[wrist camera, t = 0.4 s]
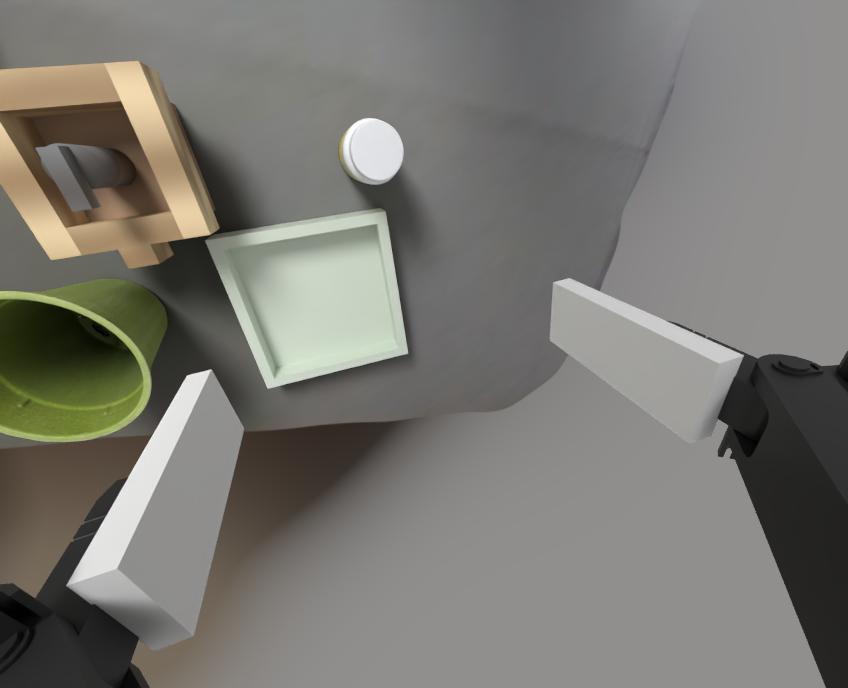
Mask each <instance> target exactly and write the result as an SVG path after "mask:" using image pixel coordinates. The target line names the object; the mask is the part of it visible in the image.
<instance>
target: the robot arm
mask: <svg viewBox="0 0 848 688" xmlns="http://www.w3.org/2000/svg"><path fill="white" fill-rule="evenodd" d="M550 341H551V342H553V343H554V344H555V345H557V346H558V347H559V348H561V349H562V350H563V351H565V352H566V353H568V354H569V355H570V356H572V357H573V358H575V359H576V360H577V361H578V362H580V363H581V364H582V365H584V366H585V367H587V368H588V369H589V370H591V371H592V372H593V373H595V374H596V375H597V376H599V377H600V378H601V379H603V380H604V381H605V382H607V383H608V384H610V385H611V386H612V387H614V388H615V389H616V390H618V391H619V392H620V393H622V394H623V395H625V396H626V397H627V398H629V399H630V400H631V401H633V402H634V403H635V404H637V405H638V406H640V407H641V408H642V409H644V410H645V411H646V412H648V413H649V414H650V415H652V416H653V417H654V418H656V419H657V420H658V421H660V422H661V423H662V424H664V425H665V426H666V427H668V428H669V429H671V430H672V431H673V432H675V433H676V434H677V435H679V436H680V437H682V438H683V439H684V440H686V441H687V442H688V443H693V442H695V441H698V440H701V439H703V438H706V437H709V436H711V435H712V432H713V430H714V427H715V425H716V422H717V420H718V419H719V420H721V421H722V422H724V423H726V424H727V425H729V426H728V428H727V431H726V433H725V435H724V438H723V440H722V442H721V445H720V447H719V449H718V456H719V457H723V456H724V453H725V451H726V449H728V448H731V450H732V454H731V456H730V458H731V459H735V460H736V463H737V466H738V468H739V470H740V473H741V476H742V478H743V480H744V483H745V486H746V488H747V491H748V493H749V496H750V498H751V501H752V503H753V505H754V508H755V511H756V513H757V516H758V518H759V521H760V523H761V525H762V528H763V530H764V533H765V536H766V538H767V541H768V543H769V545H770V548H771V551H772V553H773V556H774V558H775V561H776V563H777V566H778V568H779V571H780V573H781V576H782V579H783V581H784V584H785V586H786V588H787V591H788V593H789V596H790V599H791V601H792V604H793V606H794V609H795V611H796V614H797V616H798V618H799V621H800V624H801V626H802V629H803V631H804V633H805V636H806V639H807V641H808V644H809V646H810V649H811V651H812V654H813V656H814V659H815V661H816V664H817V666H818V669H819V671H820V674H821V676H822V679H823V681H824V684H825V686H826V688H848V351H847V353H846V354H845V356H844V358H843V359H842V361H841V363H840V365H834V366H820V365H818V364H816V363H813V362H811V361H809V360H805V359H802V358H799V357H795V356H788V355H781V354H773V355H771V354H770V355H765V356H762V357H760V358H759V359H757V358H755V357H753V356H751V355H748V354H746V353H744V352H742V351H739V350H737V349H735V348H732V347H730V346H728V345H725V344H723V343H721V342H719V341H716V340H714V339H711V338H709V337H708V338H706V336H705V335H702V334H700V333H698V332H693V330H691V329H689V328H686V327H684V326H682V325H679V324H677V323H674V322H670V321H665V320H663V319H661V318H658V317H656V316H654V315H652V314H649V313H647V312H645V311H642V310H640V309H638V308H636V307H633V306H631V305H629V304H627V303H624V302H622V301H620V300H617V299H615V298H613V297H611V296H609V295H606V294H604V293H602V292H600V291H597V290H595V289H593V288H591V287H588V286H586V285H584V284H581V283H579V282H577V281H575V280H572V279H570V278H568V279H564V280H560V281H556V282H553V294H552V310H551V326H550ZM243 432H244V427H243V426H242V424H241V422H240V420H239V418H238V416H237V415H236V413H235V411H234V409H233V407H232V406H231V404H230V402H229V400H228V398H227V396H226V395H225V393H224V391H223V389H222V387H221V386H220V384H219V382H218V380H217V378H216V376H215V375H214V373H213V371H212V369H211V370H207V371H203V372H199V373H195V374H191V375H187V376H186V378H185V380H184V382H183V383H182V385H181V387H180V389H179V390H178V392H177V394H176V396H175V397H174V399H173V401H172V403H171V404H170V406H169V408H168V409H167V411H166V413H165V415H164V416H163V418H162V420H161V422H160V423H159V425H158V427H157V429H156V430H155V432H154V434H153V436H152V437H151V439H150V441H149V443H148V444H147V446H146V448H145V449H144V451H143V453H142V455H141V456H140V458H139V460H138V462H137V464H136V465H135V467H134V469H133V470H132V472H131V474H130V476H129V477H127V478H124V479H121V480H117V481H116V482H115V483H114V484H113V485H112V486H111V487H110V488H109V489H108V490H107V491H106V492H105V493H104V494H103V495H102V496H101V497H100V498H99V499H98V500H97V501H96V503H95V504H94V506H93V507H92V509H91V511H90V512H89V514H88V515H87V517H86V519H85V520H84V522H85V523H84V524H83V525H81V526H80V528H79V530H78V531H77V533H76V534H75V536H74V538H73V539H74V541H73V542H71V543H70V544H69V546H68V547H67V549H66V551H65V552H64V554H63V555H62V557H61V558H60V560H59V562H58V563H57V565H56V566H55V568H54V569H53V571H52V573H51V574H50V576H49V577H48V579H47V580H46V582H45V584H44V585H43V587H42V589H41V590H40V592H39V593H38V595H37V597H36V598H34V597H32V596H31V595H29V594H28V593H26V592H25V591H23V590H22V589H20V588H19V587H17V586H16V585H14V584H12V583H11V584H1V585H0V688H150V687H149V685H148V684H147V682H146V680H145V678H144V677H143V675H142V673H141V671H140V670H139V668H138V667H136V666H135V665H133V664H132V663H131V659H132V656H133V653H134V651H135V648H136V645H137V642H138V640H140V641H141V642H142V643H144V644H145V645H146V646H148V647H149V648H151V649H152V650H153V651H156V650H159V649H161V648H164V647H166V646H169V645H171V644H174V643H177V642H179V641H182V640H184V639H187V638H190V637H192V636H194V632H195V628H196V624H197V620H198V616H199V612H200V608H201V603H202V599H203V596H204V591H205V587H206V583H207V579H208V575H209V570H210V567H211V563H212V559H213V554H214V550H215V546H216V542H217V538H218V534H219V530H220V526H221V522H222V518H223V513H224V509H225V506H226V501H227V497H228V493H229V489H230V485H231V481H232V477H233V473H234V469H235V464H236V461H237V456H238V452H239V448H240V444H241V440H242V436H243Z"/></svg>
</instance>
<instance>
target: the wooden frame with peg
mask: <svg viewBox="0 0 848 688" xmlns="http://www.w3.org/2000/svg"><path fill="white" fill-rule="evenodd" d="M116 110H125V111H126V113H127V115H128V117H129V119H130V122H131V124H132V126H133V128H134V130H135V133H136V135H137V137H138V139H139V141H140V144H141V146H142V148H143V150H144V152H145V155H146V157H147V159H148V161H149V163H150V166H151V168H152V170H153V172H154V174H155V177H156V179H157V181H158V183H159V185H160V188H161V190H162V192H163V194H164V196H165V199H166V201H167V203H168V205H169V208H170V210H169V211H162V212H155V213H148V214H141V215H134V216H127V217H120V218H113V219H106V220H99V221H92V222H90V220H89V219H88V217H87V215H86V213H85V212H84V210H80V211H72V210H71V208H70V206H69V205H68V203H67V201H66V200H65V198H64V196H63V194H62V193H61V191H60V189H59V188H58V186H57V184H56V183H55V181H53V180H52V179H51V178H50V177H49V176H48V175H47V173H46V172H45V170H44V168H43V166H42V163H41V157H40V155H39V154H38V152H37V150H36V149H35V148H37V147H47V145H46V144H45V142H44V140H43V138H42V137H41V135H40V133H39V131H38V130H37V128H36V126H35V124H34V123H33V121H32V119H31V118H37V117H48V116H59V115H71V114H82V113H94V112H105V111H116ZM0 184H1V185H2V187H3V188H4V190H5V191H6V193H7V194H8V196H9V197H10V199H11V200H12V202H13V203H14V205H15V206H16V208H17V209H18V211H19V212H20V214H21V215H22V217H23V218H24V220H25V221H26V223H27V224H28V226H29V227H30V229H31V230H32V232H33V233H34V235H35V236H36V238H37V239H38V241H39V242H40V244H41V245H42V247H43V248H44V250H45V251H46V253H47V254H48V256H49V257H50V259H51V260H55V259H61V258H68V257H74V256H80V255H87V254H93V253H99V252H105V251H112V250H119V252H120V254H121V255H122V257H123V259H124V261H125V263H126V264H127V266H128V268H129V269H132V268H137V267H143V266H149V265H155V264H160V263H162V262H163V261H165V260H166V259H168V258H169V257H171V256H172V255H174V254H173V252H172V250H171V248H170V246H169V244H168V241H174V240H181V239H187V238H193V237H199V236H206V235H211V234H212V233H214V232H215V231H217V230H218V229H220V228H219V225H218V223H217V220H216V218H215V215H214V212H213V210H212V207H211V205H210V202H209V200H208V197H207V195H206V192H205V190H204V187H203V185H202V182H201V180H200V177H199V175H198V172H197V170H196V167H195V165H194V162H193V159H192V157H191V154H190V152H189V149H188V147H187V144H186V142H185V139H184V137H183V134H182V132H181V129H180V127H179V124H178V122H177V119H176V117H175V114H174V111H173V109H172V106H171V104H170V101H169V99H168V96H167V94H166V91H165V89H164V86H163V84H162V81H161V79H160V76H159V74H158V72H156V71H154V70H153V69H151V68H149V67H148V66H146V65H145V64H143V63H141V62H140V61H131V62H115V63H99V64H83V65H67V66H51V67H35V68H19V69H3V70H0Z"/></svg>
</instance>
